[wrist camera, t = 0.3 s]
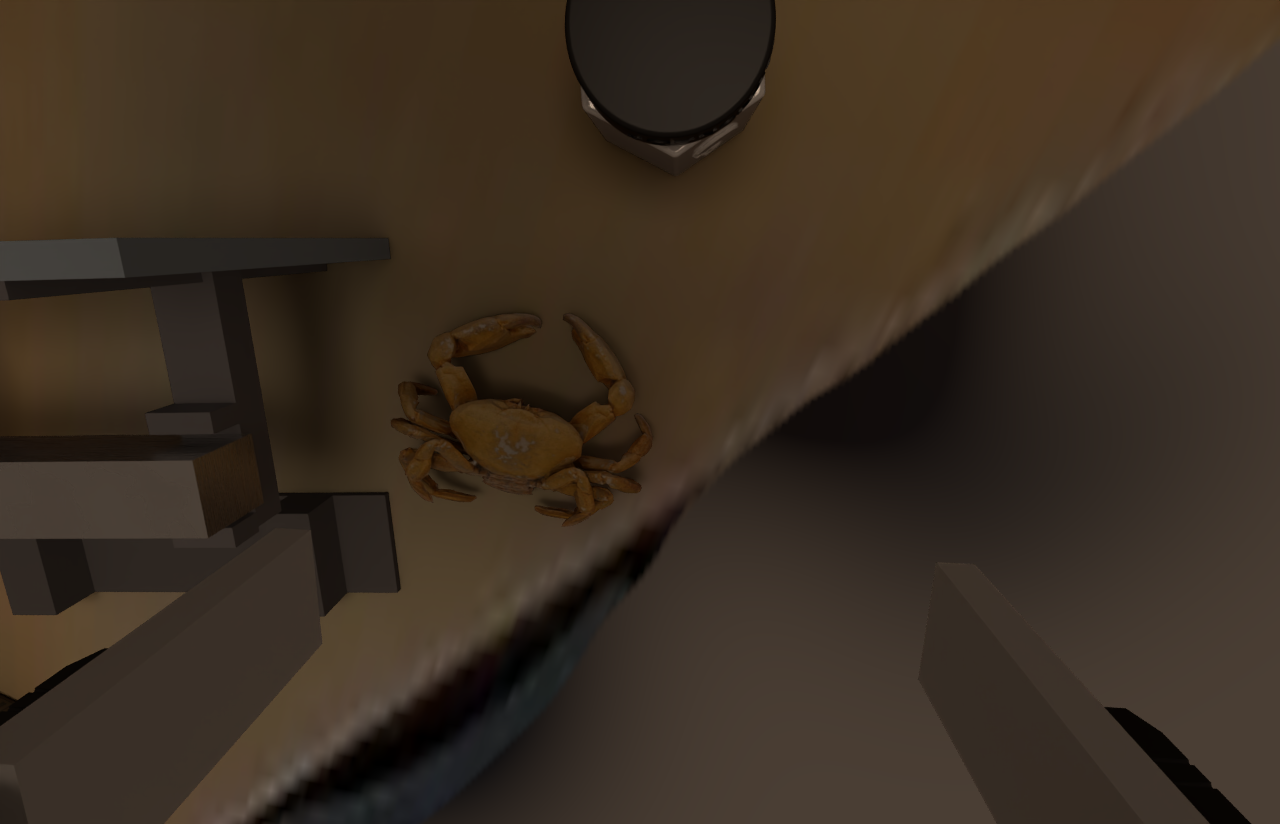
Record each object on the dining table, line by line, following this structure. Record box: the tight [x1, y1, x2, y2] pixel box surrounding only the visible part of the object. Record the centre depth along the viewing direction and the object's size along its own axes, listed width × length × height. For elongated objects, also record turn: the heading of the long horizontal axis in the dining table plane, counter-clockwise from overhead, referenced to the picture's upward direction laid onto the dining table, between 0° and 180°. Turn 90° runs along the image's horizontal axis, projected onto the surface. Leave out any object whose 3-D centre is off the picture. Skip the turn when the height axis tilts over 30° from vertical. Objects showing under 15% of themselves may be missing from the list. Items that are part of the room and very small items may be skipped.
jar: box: [565, 0, 776, 176], centre depth 31 cm, size 9×8×12 cm
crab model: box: [391, 313, 653, 527], centre depth 40 cm, size 16×13×6 cm
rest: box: [0, 492, 400, 616], centre depth 44 cm, size 7×28×4 cm, turn 92°
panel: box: [0, 238, 391, 548], centre depth 33 cm, size 14×32×20 cm, turn 92°
